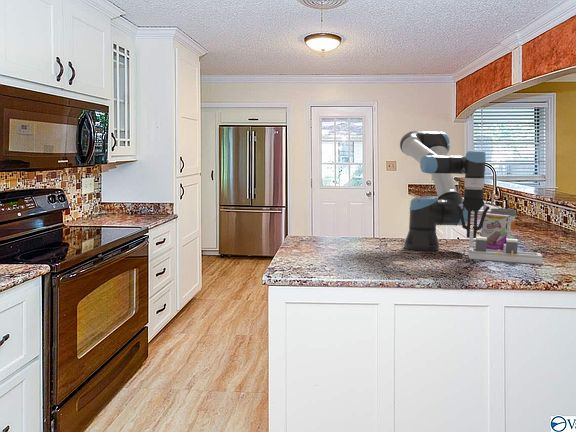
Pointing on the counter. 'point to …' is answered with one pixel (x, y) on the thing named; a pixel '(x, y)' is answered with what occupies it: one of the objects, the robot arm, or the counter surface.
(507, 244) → the right tab
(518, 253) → the switch bank
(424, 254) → the counter surface
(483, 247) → the left tab
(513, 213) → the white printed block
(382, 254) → the counter surface
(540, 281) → the counter surface
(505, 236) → the candy bar box
